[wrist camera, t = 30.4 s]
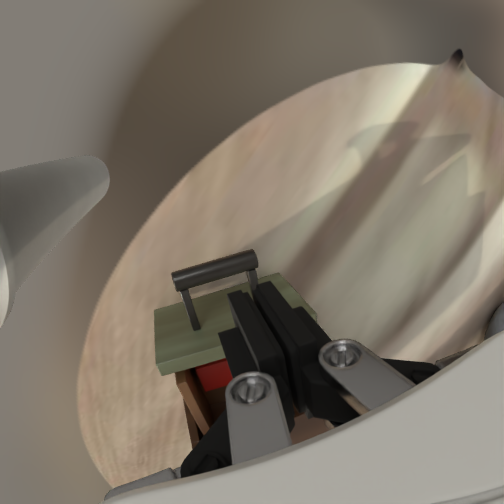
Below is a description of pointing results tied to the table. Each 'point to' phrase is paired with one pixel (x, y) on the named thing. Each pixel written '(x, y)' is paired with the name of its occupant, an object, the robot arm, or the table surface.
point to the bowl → (496, 323)
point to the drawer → (206, 328)
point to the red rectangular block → (214, 374)
